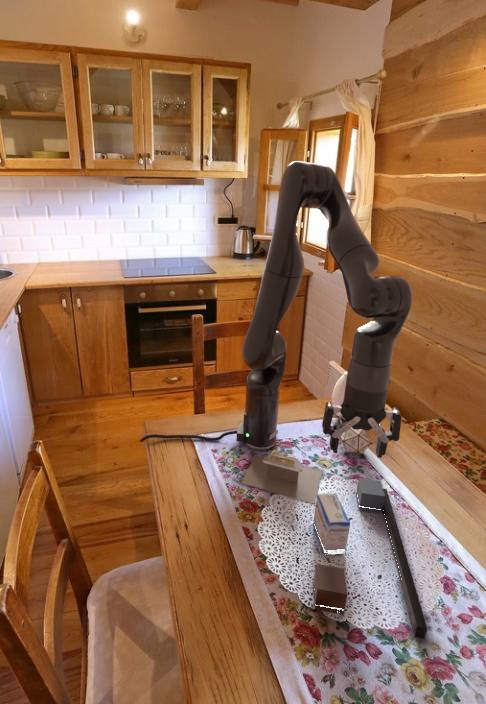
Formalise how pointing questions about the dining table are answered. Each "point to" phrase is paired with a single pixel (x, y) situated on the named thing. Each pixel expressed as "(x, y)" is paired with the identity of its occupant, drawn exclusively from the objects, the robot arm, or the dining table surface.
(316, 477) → the platform
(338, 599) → the walnut block
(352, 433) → the beige icosahedron
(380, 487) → the slate block
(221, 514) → the dining table surface
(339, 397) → the air dust blower
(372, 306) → the robot arm
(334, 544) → the medicine box
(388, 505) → the straightedge
